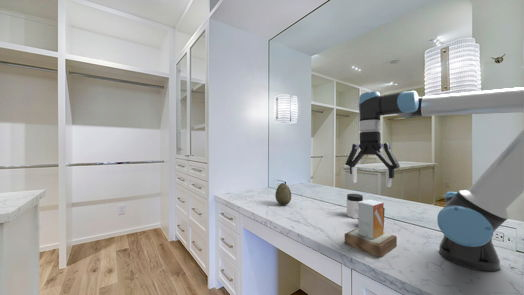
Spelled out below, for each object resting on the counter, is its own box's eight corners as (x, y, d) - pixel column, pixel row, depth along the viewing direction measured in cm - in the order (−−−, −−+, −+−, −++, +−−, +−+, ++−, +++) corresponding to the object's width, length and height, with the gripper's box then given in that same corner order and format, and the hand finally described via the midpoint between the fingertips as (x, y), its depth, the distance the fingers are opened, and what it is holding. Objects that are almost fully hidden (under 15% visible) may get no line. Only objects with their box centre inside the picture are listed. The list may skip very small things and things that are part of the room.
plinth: (396, 246, 84) (396, 235, 84) (380, 257, 75) (380, 245, 75) (362, 234, 95) (361, 225, 95) (344, 243, 86) (344, 233, 86)
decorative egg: (276, 202, 149) (275, 181, 149) (291, 203, 148) (291, 181, 148) (274, 207, 139) (274, 184, 139) (291, 207, 137) (291, 184, 137)
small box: (373, 239, 80) (373, 205, 80) (357, 234, 85) (357, 202, 85) (384, 234, 84) (383, 202, 84) (368, 229, 90) (368, 199, 90)
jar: (349, 218, 116) (349, 196, 116) (344, 213, 124) (344, 193, 124) (366, 218, 115) (366, 196, 115) (360, 214, 123) (360, 193, 123)
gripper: (409, 129, 77) (410, 187, 77) (346, 133, 97) (347, 179, 97) (401, 128, 72) (402, 190, 72) (336, 133, 92) (337, 181, 92)
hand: (370, 184), depth 85 cm, fingers open, 13 cm apart
